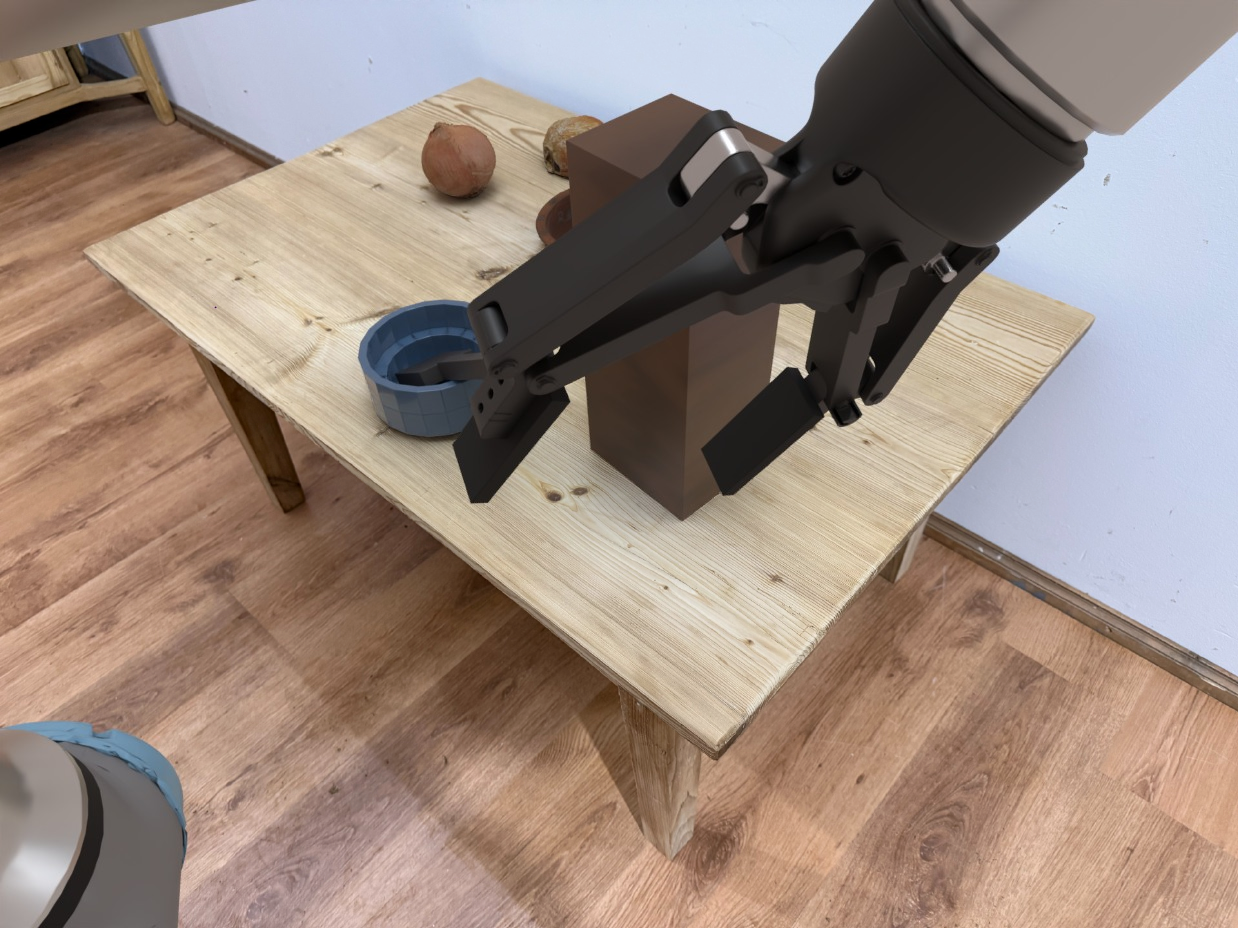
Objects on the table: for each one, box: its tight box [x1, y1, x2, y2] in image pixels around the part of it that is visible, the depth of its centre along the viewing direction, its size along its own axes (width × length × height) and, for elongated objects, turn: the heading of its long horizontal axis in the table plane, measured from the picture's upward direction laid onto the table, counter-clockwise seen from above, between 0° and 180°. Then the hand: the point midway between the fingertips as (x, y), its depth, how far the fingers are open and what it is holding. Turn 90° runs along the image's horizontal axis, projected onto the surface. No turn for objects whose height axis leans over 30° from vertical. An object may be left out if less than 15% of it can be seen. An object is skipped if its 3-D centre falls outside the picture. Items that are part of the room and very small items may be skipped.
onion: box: [420, 121, 497, 199], centre depth 108 cm, size 10×9×10 cm
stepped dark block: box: [395, 349, 488, 387], centre depth 76 cm, size 21×6×2 cm
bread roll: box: [542, 114, 605, 178], centre depth 114 cm, size 10×10×8 cm
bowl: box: [357, 298, 484, 438], centre depth 82 cm, size 14×14×6 cm
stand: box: [566, 92, 787, 522], centre depth 67 cm, size 12×10×30 cm
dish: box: [535, 187, 573, 247], centre depth 99 cm, size 18×22×5 cm
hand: (606, 473), depth 37 cm, fingers open, 13 cm apart
